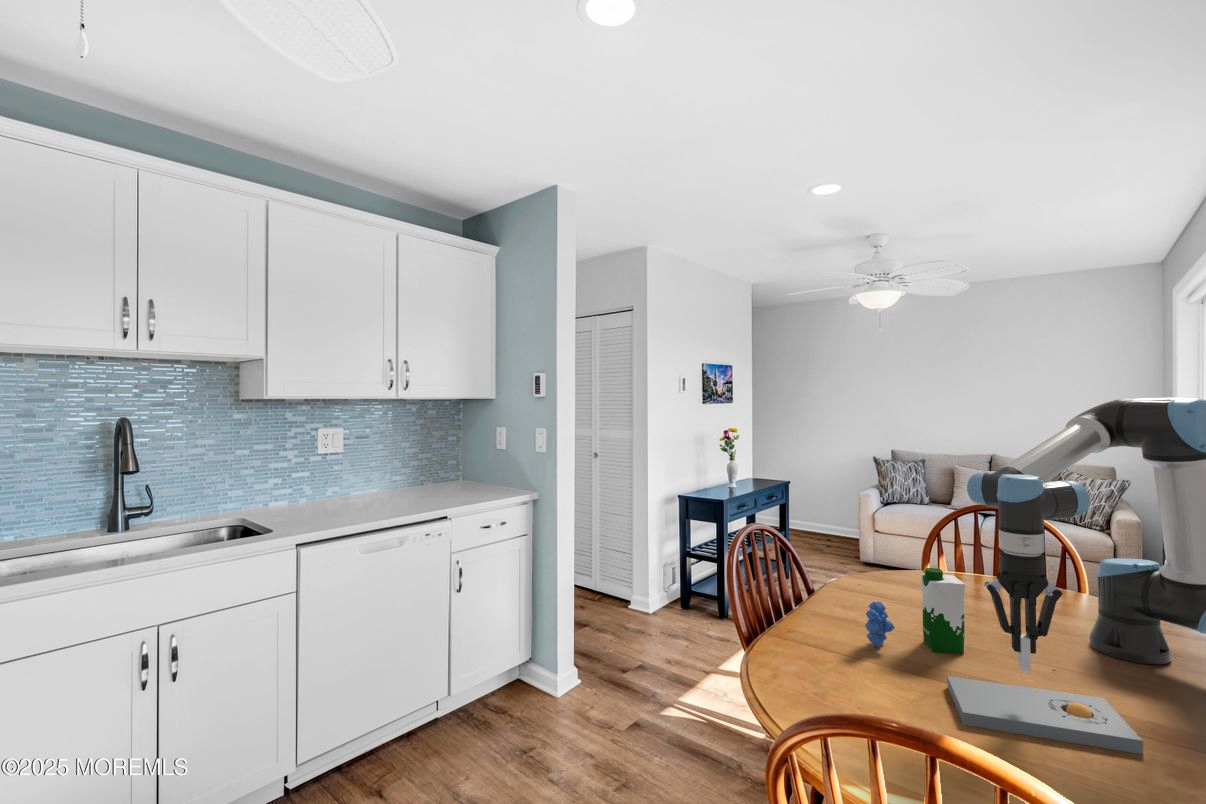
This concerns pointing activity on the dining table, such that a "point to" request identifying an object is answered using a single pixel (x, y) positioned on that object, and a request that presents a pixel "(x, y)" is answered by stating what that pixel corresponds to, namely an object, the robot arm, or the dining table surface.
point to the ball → (1078, 710)
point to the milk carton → (943, 612)
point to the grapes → (877, 624)
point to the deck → (1041, 714)
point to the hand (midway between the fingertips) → (1024, 667)
